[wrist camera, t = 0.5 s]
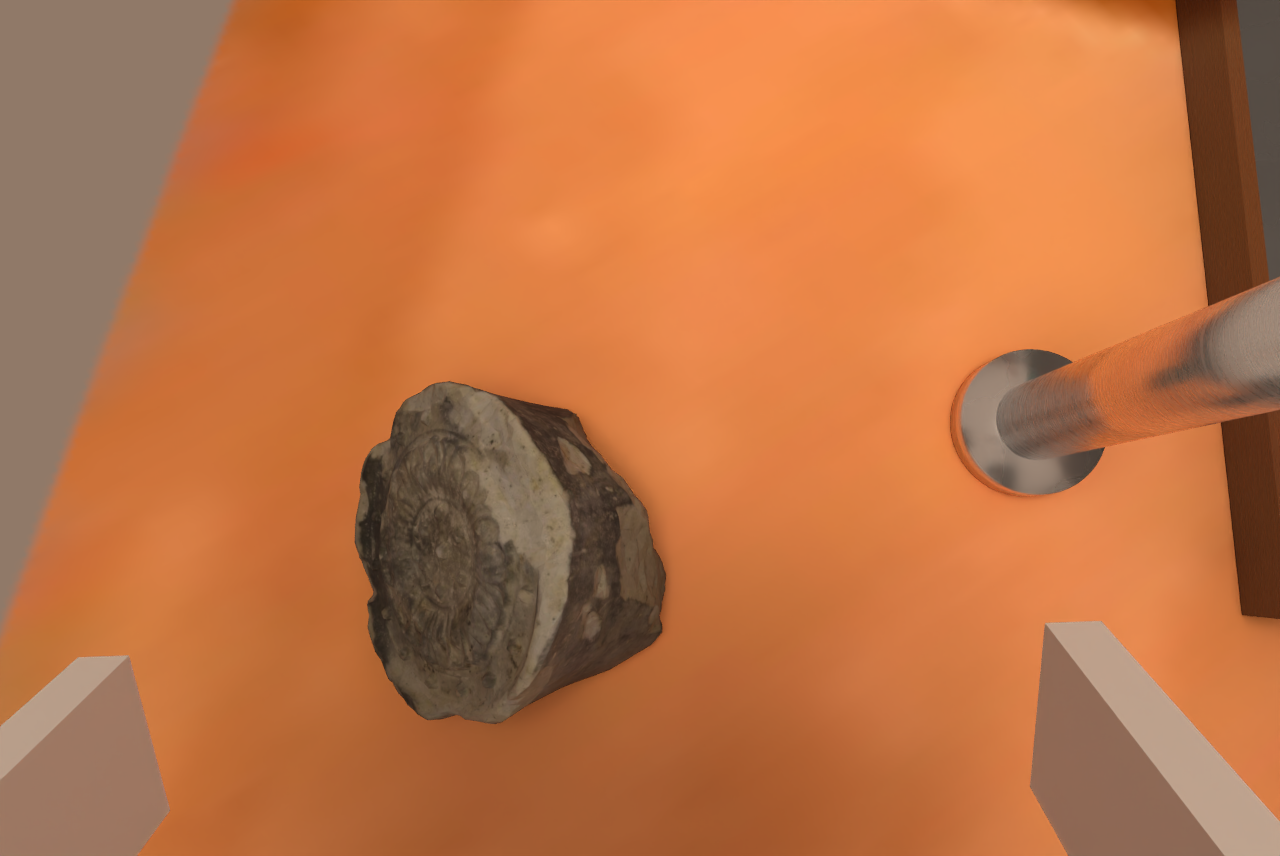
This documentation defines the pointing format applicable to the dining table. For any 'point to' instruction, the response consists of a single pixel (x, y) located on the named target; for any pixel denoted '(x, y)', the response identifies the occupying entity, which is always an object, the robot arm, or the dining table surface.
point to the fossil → (500, 555)
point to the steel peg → (1117, 394)
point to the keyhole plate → (1240, 238)
